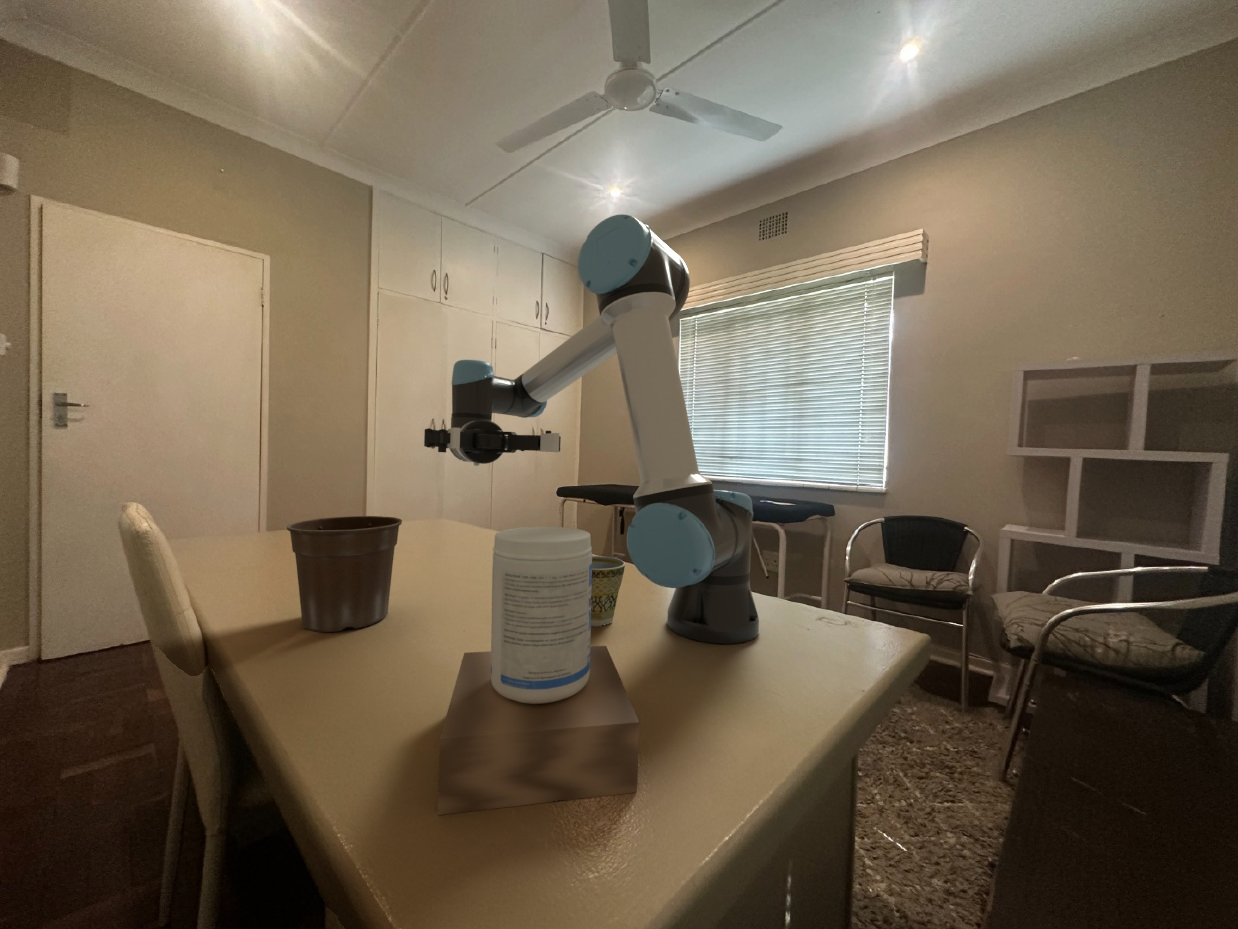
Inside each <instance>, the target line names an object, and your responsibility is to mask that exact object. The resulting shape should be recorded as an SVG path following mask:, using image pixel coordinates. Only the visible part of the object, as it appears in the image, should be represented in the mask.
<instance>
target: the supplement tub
mask: <svg viewBox="0 0 1238 929" xmlns="http://www.w3.org/2000/svg"><path fill="white" fill-rule="evenodd" d="M592 549H593V548H592V544H591V534H590V532H588V531H587V530H583V529H579V528H572V527H561V526H526V527H525V526H524V527H514V528H509V529H502V530H500V531H498V532H496V533H495V535H494V545H493V549H492V552H493V553H492V568H491V569H492V574H491V576H492V577H491V578H492V579H491V585H492V586H491V633H490V634H491V637H490V638H491V642H490V643H491V645H490V646H491V647H490V648H491V649H490V651H491V682H492V685H493V687H494V689H495V690H496V691H497V692H498V693H499V694H500V695H502V696H504V697H506V698H508V699H511V700H515V701H518V702H521V703H529V704H541V703H550V702H555V701H559V700H562V699H565V698H568V697H570V696H572V695H574V694H576V693H577V692H578V691H580V690H581V689H582V688H583V687H584V686H585V685H586V683H587V681H588V679H589V674H590V646H591V633H592V631H591V630H592V629H591V628H592V626H591V589H592V556H593V552H592Z"/></svg>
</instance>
